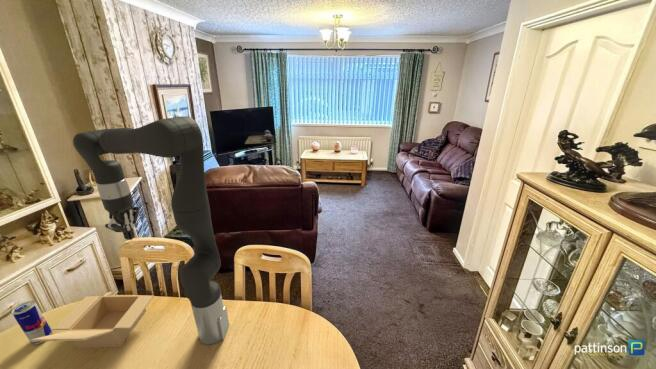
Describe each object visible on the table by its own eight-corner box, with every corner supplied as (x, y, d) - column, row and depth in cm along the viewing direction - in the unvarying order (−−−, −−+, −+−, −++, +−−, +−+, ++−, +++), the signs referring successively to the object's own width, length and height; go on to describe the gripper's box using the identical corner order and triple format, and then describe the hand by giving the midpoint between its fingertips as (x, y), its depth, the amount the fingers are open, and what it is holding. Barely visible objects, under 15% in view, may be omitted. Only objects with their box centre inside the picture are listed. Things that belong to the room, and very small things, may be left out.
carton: (159, 310, 97) (154, 294, 94) (136, 346, 84) (128, 328, 81) (95, 311, 96) (87, 295, 93) (60, 347, 83) (50, 330, 80)
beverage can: (39, 347, 83) (18, 315, 77) (27, 343, 84) (6, 311, 78) (57, 333, 88) (39, 301, 82) (45, 330, 89) (27, 298, 83)
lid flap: (83, 338, 70) (82, 340, 70) (112, 330, 81) (112, 332, 81) (30, 339, 70) (29, 342, 69) (67, 330, 80) (66, 333, 80)
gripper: (112, 203, 74) (128, 250, 81) (140, 185, 86) (153, 227, 93) (85, 202, 74) (104, 250, 80) (118, 184, 86) (132, 227, 93)
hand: (130, 238), depth 87 cm, fingers closed
